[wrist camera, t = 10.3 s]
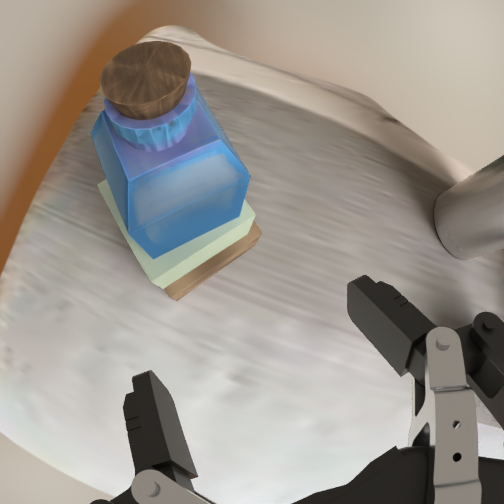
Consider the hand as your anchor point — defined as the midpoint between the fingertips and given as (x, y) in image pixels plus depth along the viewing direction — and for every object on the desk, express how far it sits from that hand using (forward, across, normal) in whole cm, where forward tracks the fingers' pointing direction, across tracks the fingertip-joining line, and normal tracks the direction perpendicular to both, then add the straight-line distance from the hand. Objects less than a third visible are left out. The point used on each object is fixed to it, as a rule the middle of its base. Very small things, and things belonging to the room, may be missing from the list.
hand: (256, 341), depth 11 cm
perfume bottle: (+12, 0, -1) cm, 13 cm away
